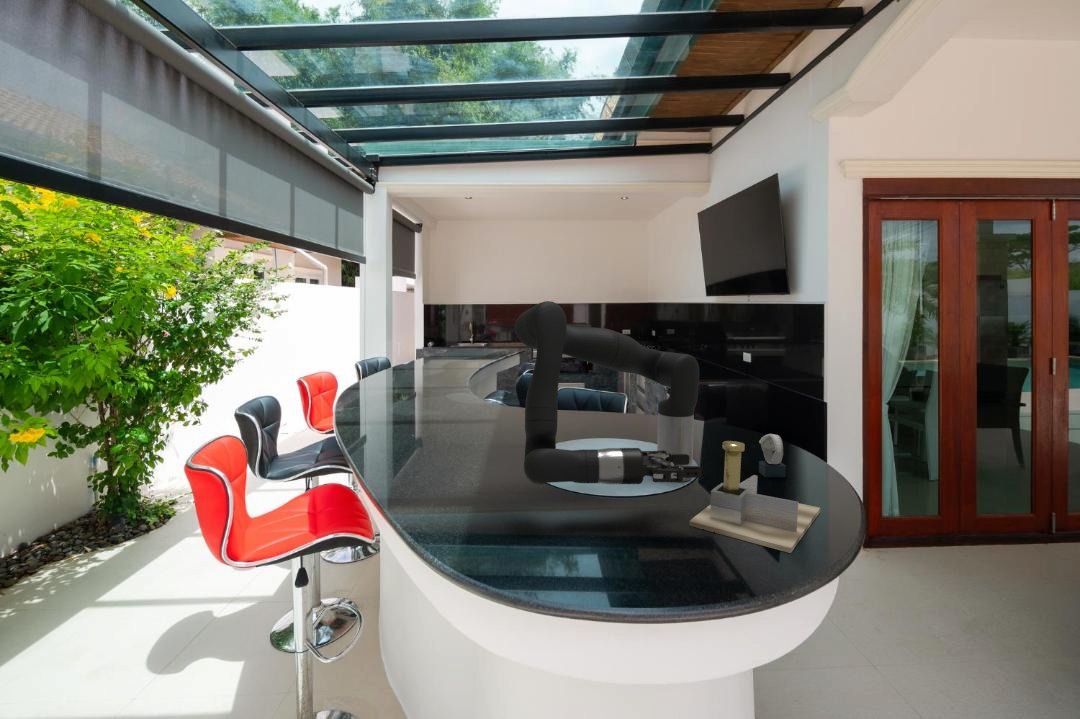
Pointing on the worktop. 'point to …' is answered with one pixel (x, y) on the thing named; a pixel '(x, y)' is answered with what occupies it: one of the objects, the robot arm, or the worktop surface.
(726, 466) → the hinge pin
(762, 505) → the hinge
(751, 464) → the worktop surface
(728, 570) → the worktop surface
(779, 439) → the watch
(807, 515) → the board
